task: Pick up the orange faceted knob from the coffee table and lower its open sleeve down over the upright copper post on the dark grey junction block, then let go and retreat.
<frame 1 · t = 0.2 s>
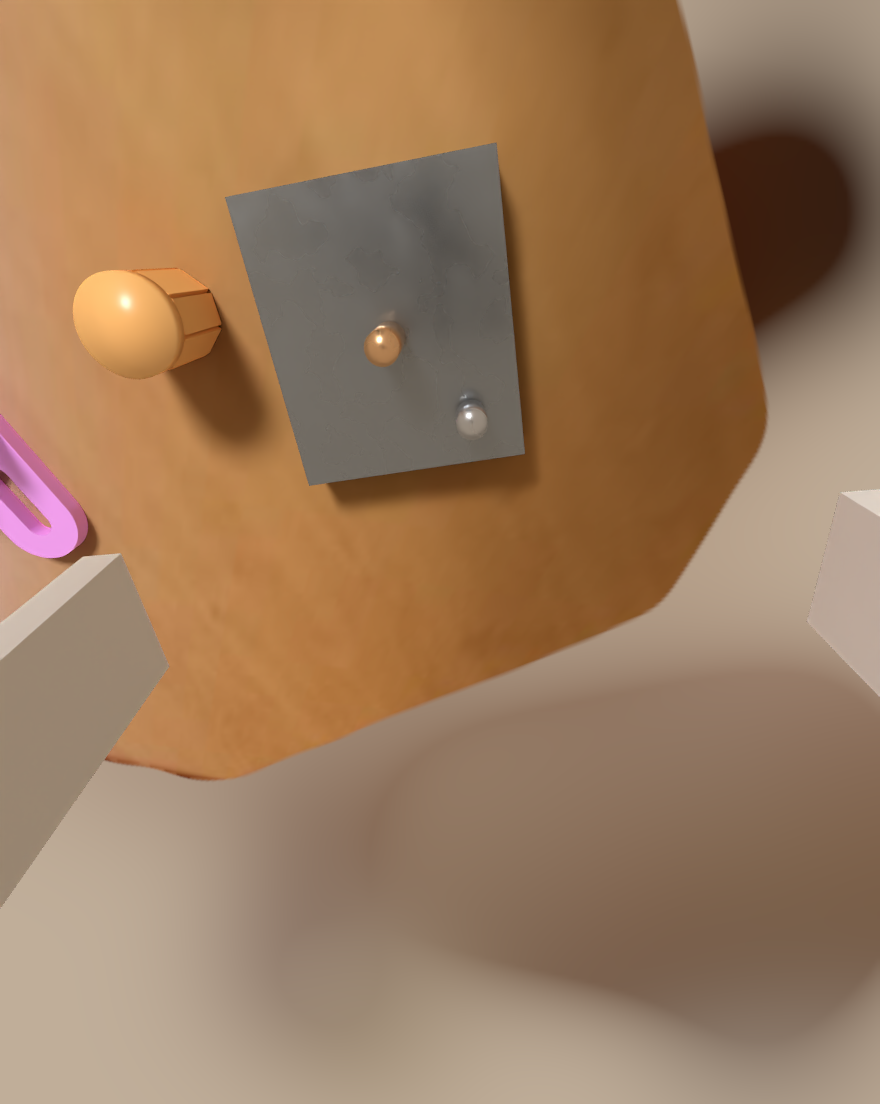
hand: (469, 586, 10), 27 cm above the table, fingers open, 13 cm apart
junction block: (394, 331, 34), on the table
bracket: (13, 472, 39), on the table
orange faceted knob: (178, 315, 34), on the table
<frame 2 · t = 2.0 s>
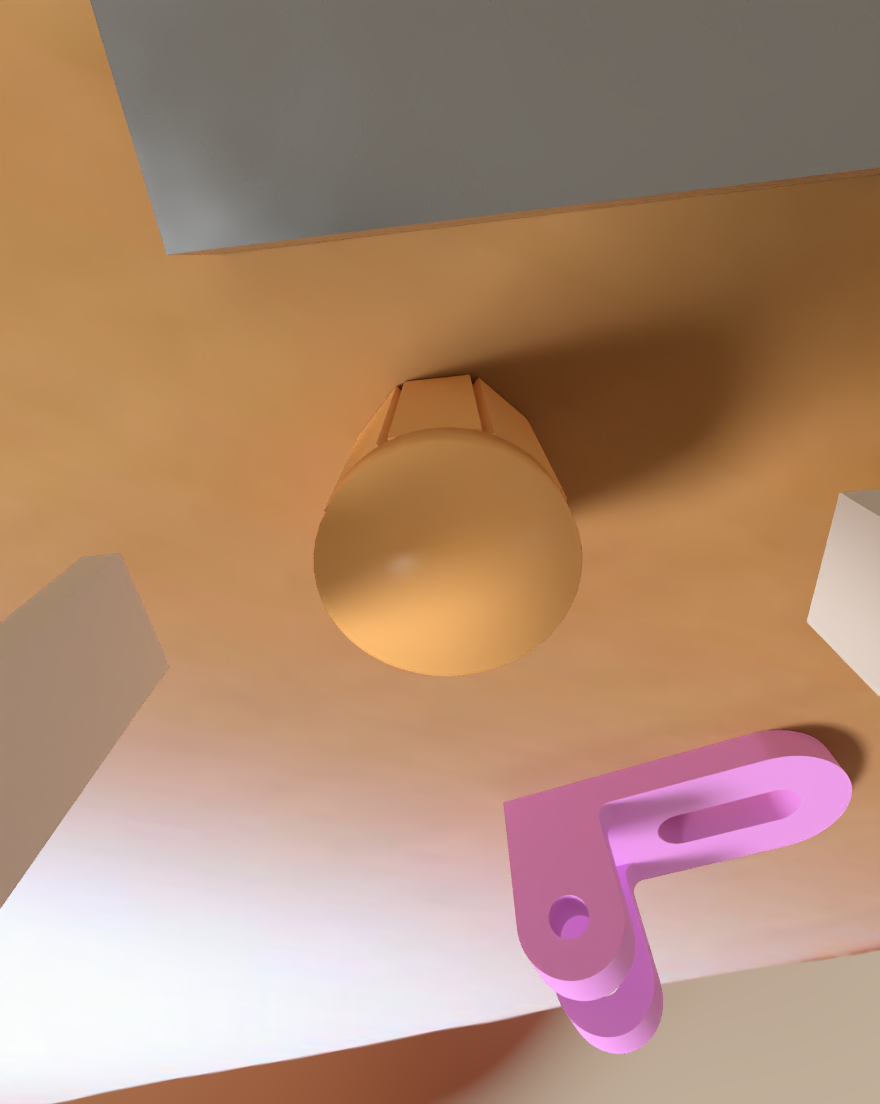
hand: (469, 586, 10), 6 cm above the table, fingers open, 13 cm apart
bracket: (666, 795, 24), on the table
orange faceted knob: (445, 465, 16), on the table
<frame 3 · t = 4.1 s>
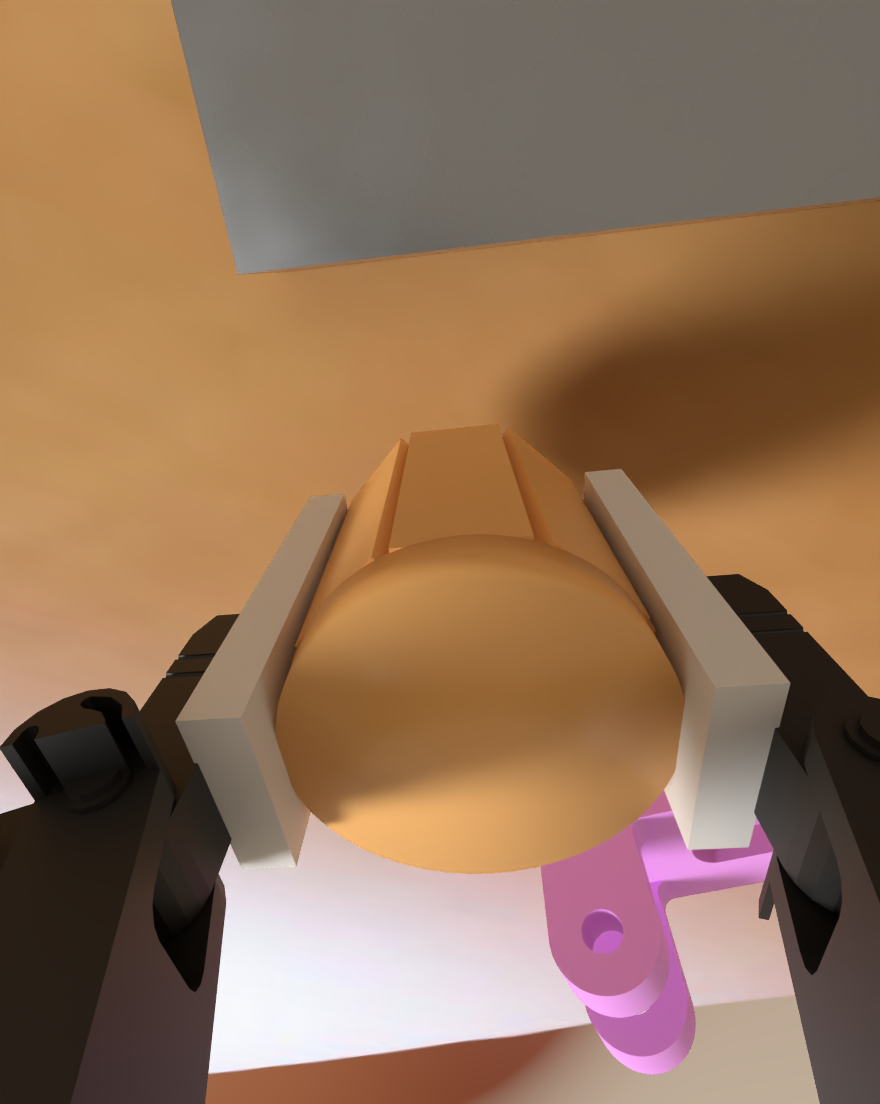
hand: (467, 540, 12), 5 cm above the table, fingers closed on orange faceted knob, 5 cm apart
bracket: (701, 812, 23), on the table
orange faceted knob: (464, 536, 13), point 4 cm above the table, touching gripper
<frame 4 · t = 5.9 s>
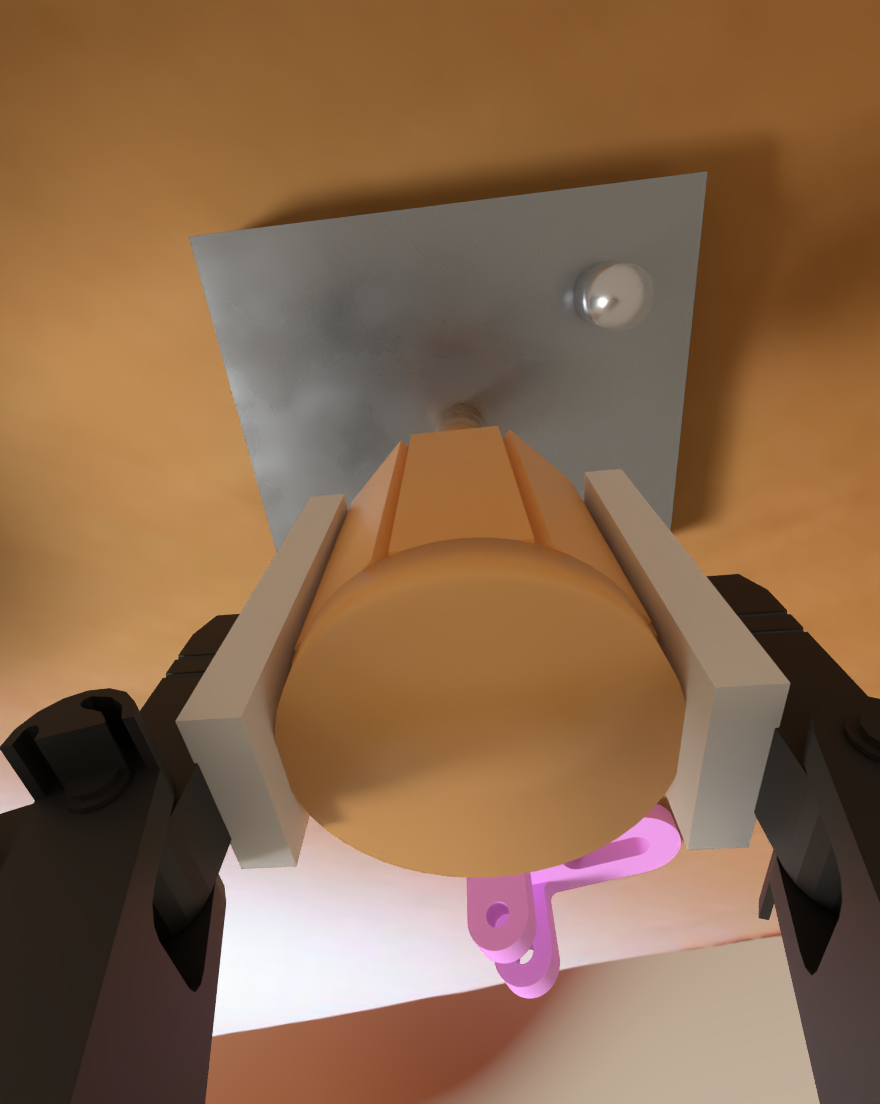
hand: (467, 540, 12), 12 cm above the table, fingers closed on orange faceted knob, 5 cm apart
junction block: (459, 409, 23), on the table
bracket: (572, 837, 36), on the table
orange faceted knob: (464, 538, 12), point 12 cm above the table, touching gripper
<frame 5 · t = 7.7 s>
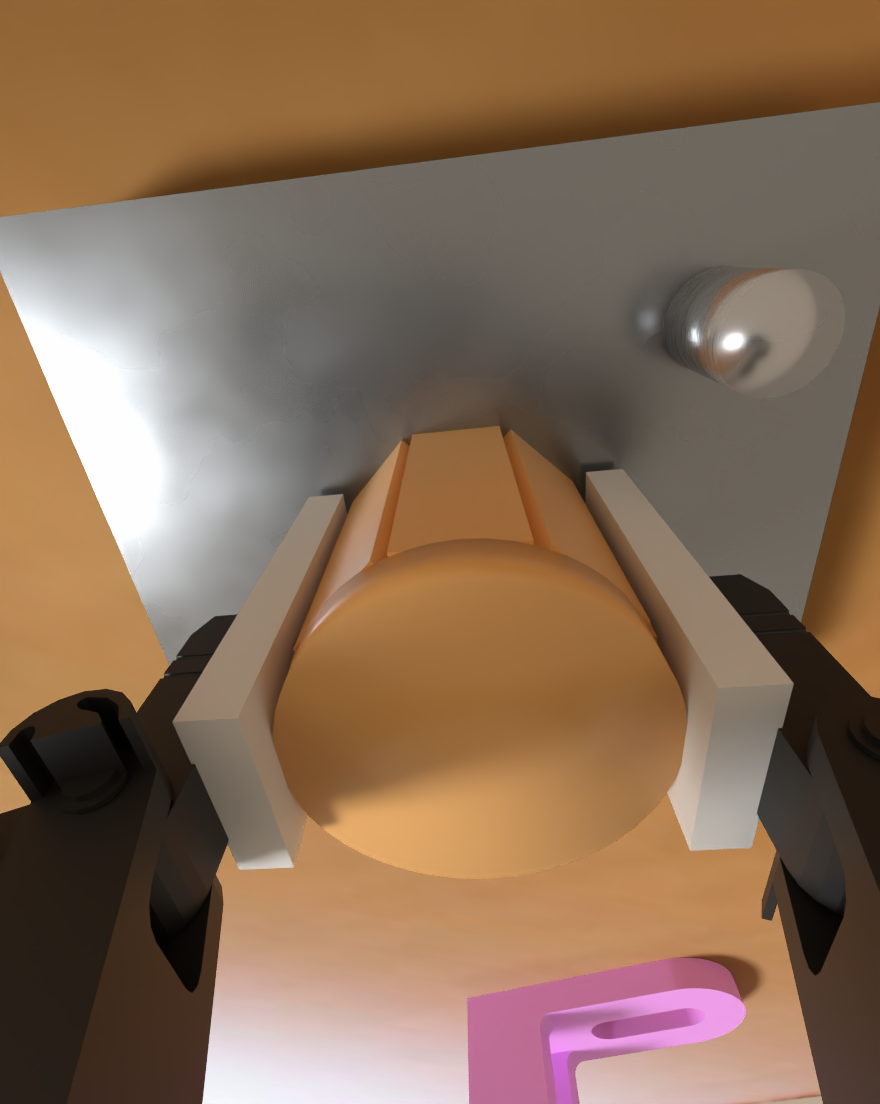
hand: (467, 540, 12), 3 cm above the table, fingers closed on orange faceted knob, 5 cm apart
junction block: (461, 486, 15), on the table
bracket: (602, 992, 29), on the table
orange faceted knob: (465, 538, 12), point 3 cm above the table, touching gripper
when the fingers open (3 cm above the table, at t = 8.1 s): orange faceted knob stays where it is, resting on junction block.
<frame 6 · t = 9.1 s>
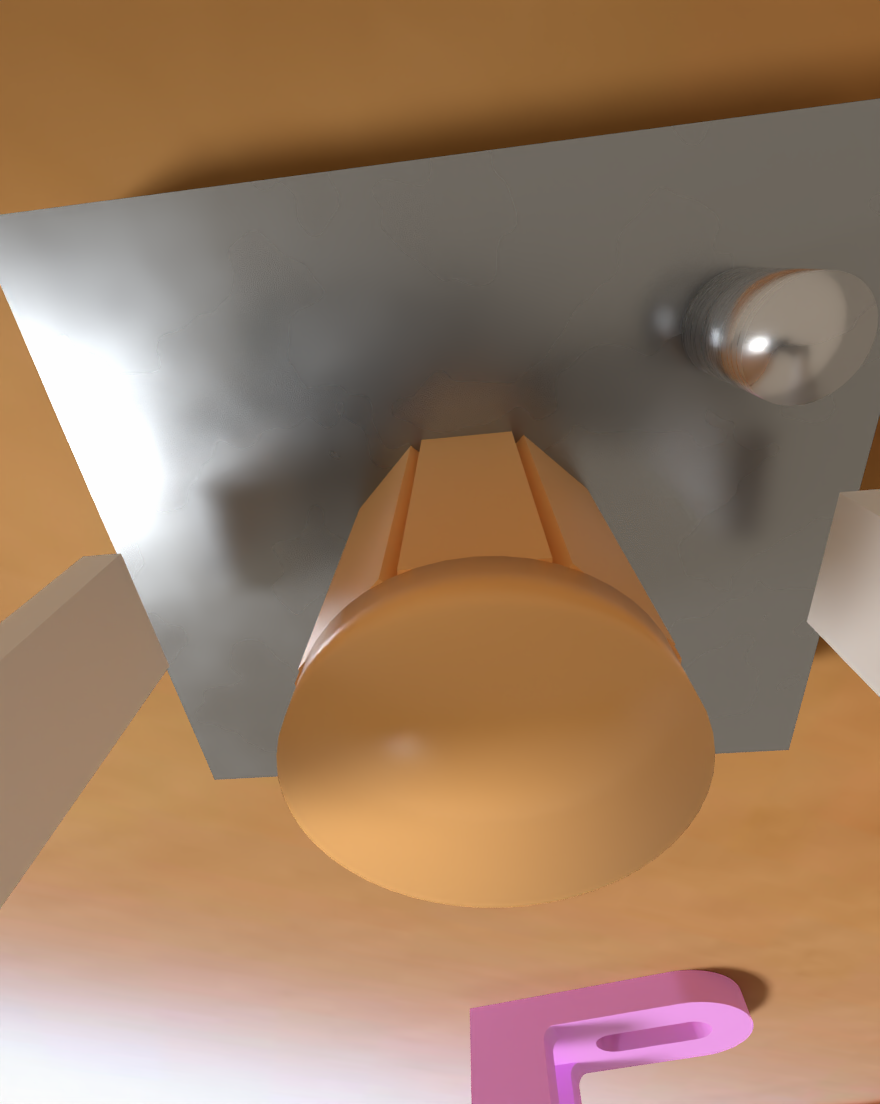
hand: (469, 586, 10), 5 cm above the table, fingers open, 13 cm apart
junction block: (468, 492, 15), on the table
bracket: (607, 1004, 28), on the table
orange faceted knob: (475, 546, 12), point 3 cm above the table, touching junction block
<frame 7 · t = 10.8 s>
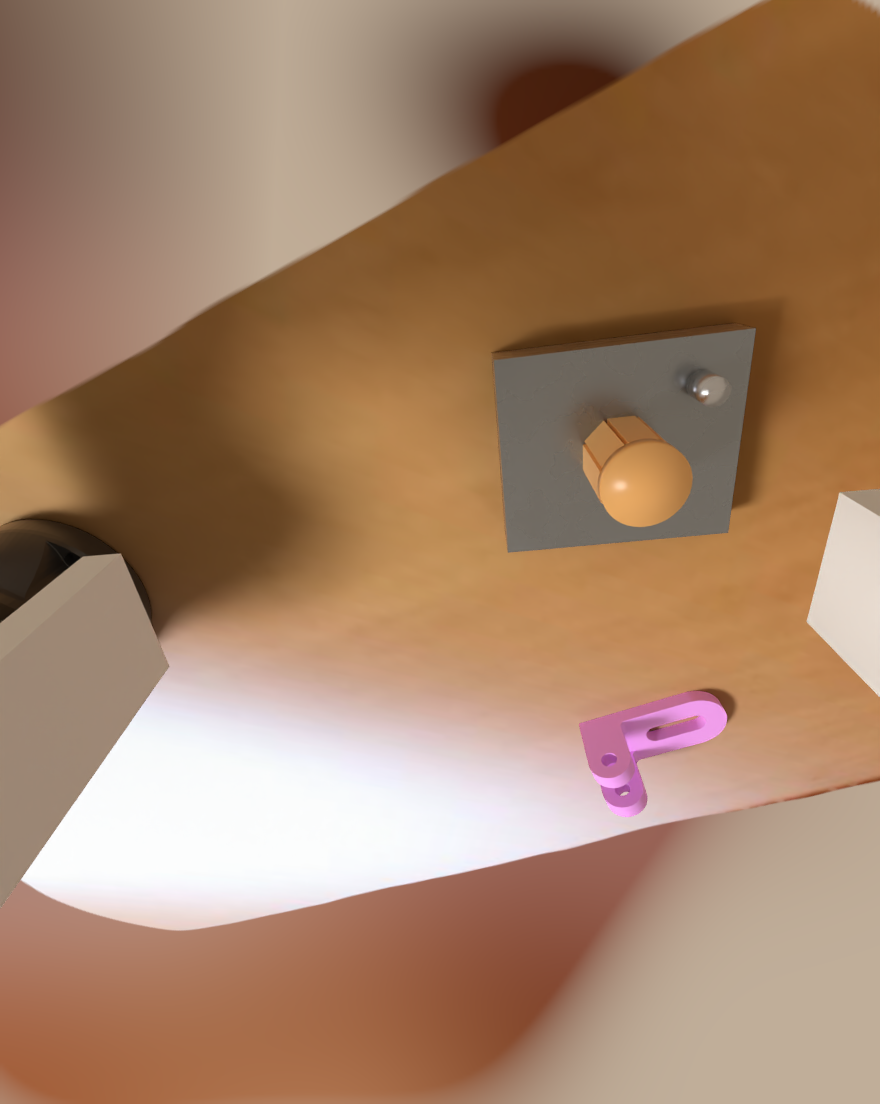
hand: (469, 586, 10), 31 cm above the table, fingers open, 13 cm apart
junction block: (608, 439, 40), on the table
bracket: (651, 721, 54), on the table
orange faceted knob: (619, 453, 38), point 3 cm above the table, touching junction block
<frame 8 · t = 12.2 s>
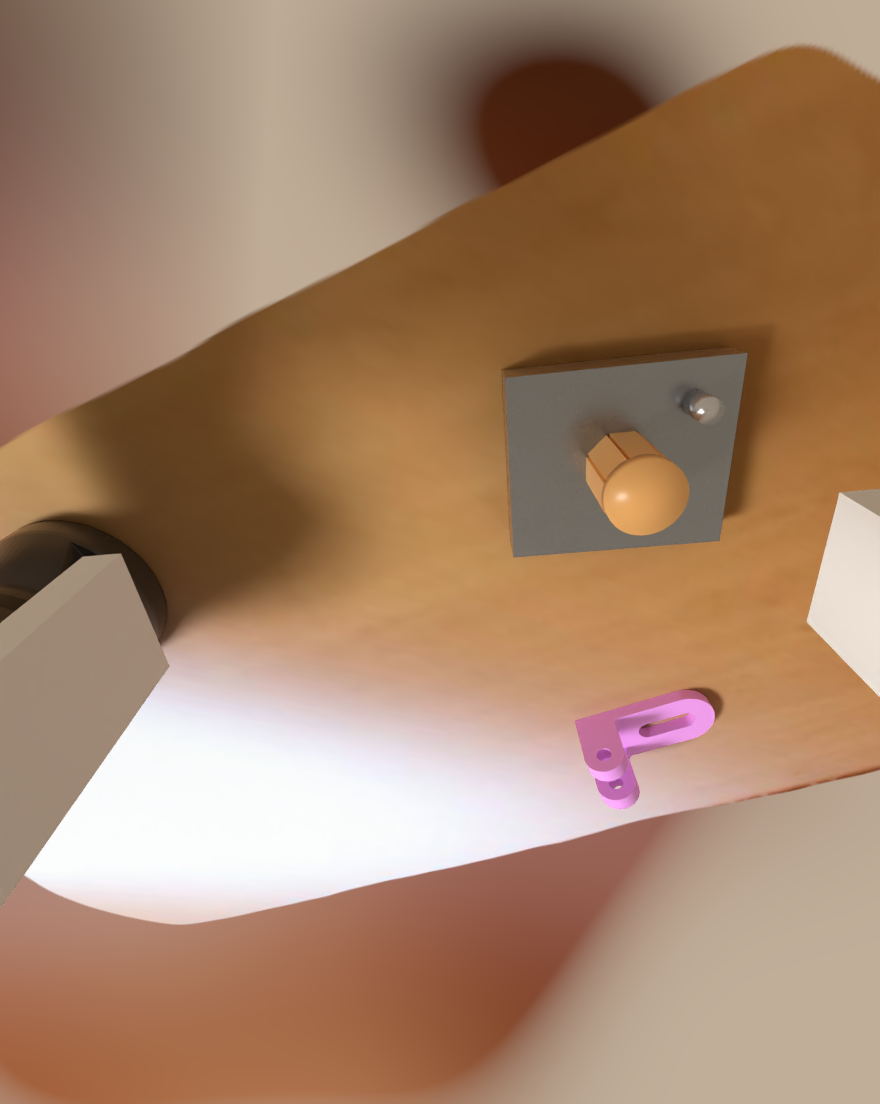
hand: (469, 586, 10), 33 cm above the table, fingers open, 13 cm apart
junction block: (609, 452, 43), on the table
bracket: (643, 718, 56), on the table
orange faceted knob: (620, 465, 40), point 3 cm above the table, touching junction block
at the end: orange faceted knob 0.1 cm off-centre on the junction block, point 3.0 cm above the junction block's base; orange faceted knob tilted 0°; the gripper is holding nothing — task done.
